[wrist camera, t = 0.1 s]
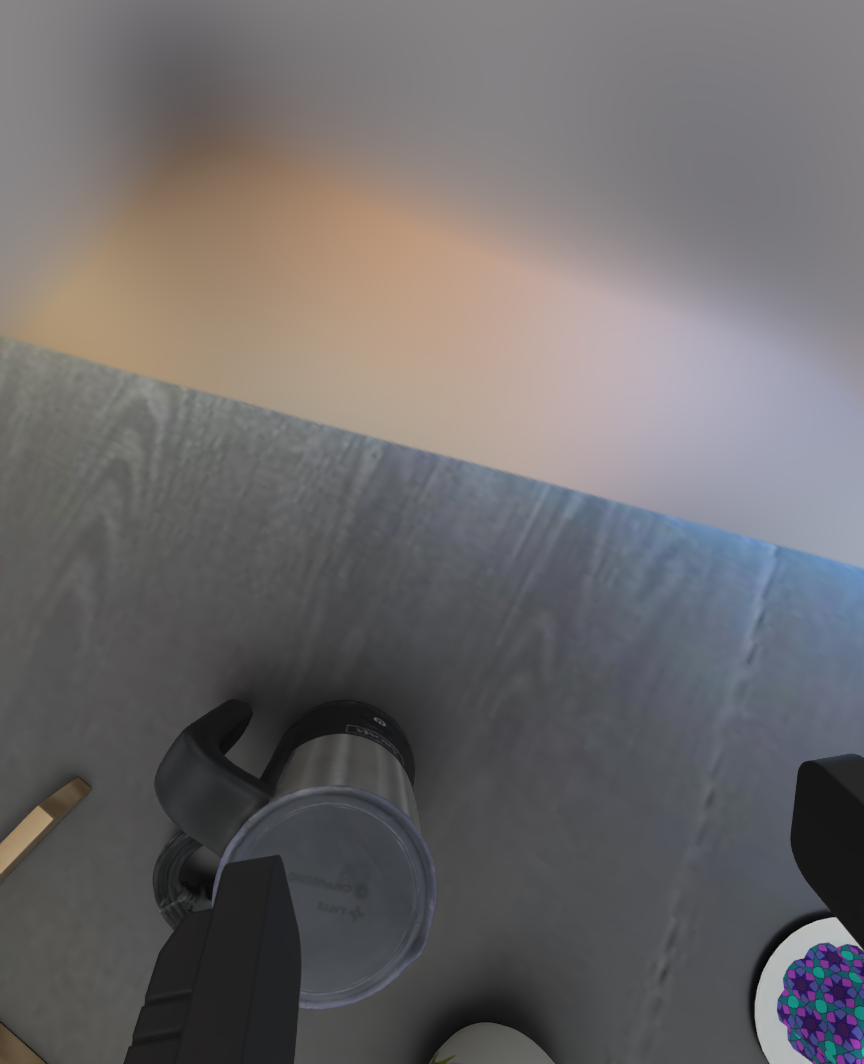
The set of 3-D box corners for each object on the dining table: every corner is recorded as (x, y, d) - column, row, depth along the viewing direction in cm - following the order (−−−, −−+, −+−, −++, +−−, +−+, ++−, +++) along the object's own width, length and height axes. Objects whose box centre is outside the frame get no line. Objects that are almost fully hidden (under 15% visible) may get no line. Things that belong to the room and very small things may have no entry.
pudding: (741, 920, 41) (793, 973, 36) (903, 901, 42) (976, 950, 37) (755, 1101, 41) (810, 1181, 36) (919, 1078, 42) (995, 1152, 37)
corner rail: (371, 1044, 39) (369, 1119, 34) (203, 1238, 38) (174, 1347, 32) (74, 772, 38) (26, 806, 33) (-109, 960, 37) (-189, 1026, 32)
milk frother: (432, 718, 40) (461, 811, 25) (371, 958, 39) (365, 1200, 24) (221, 667, 39) (124, 733, 24) (153, 911, 38) (8, 1134, 23)
